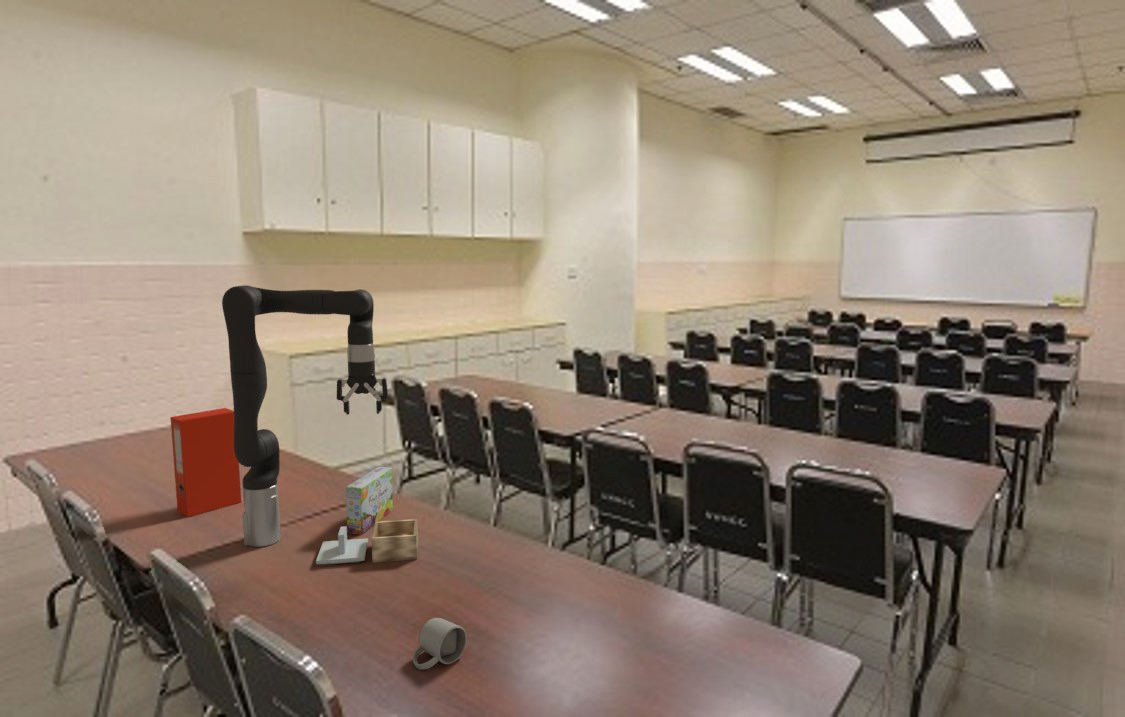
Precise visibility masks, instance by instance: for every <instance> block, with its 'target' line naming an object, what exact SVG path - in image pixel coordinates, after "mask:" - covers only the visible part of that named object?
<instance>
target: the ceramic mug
mask: <svg viewBox="0 0 1125 717" xmlns="http://www.w3.org/2000/svg"><path fill="white" fill-rule="evenodd" d="M467 638H468V637H467V632H466V630H465V629H464V628H463V627H462V626H460V625H458V624H455V623H453V622H451V621H450V620H449V621H448V620H447V619H444V618H440V617H432V618H430V619H428V620H427V621H426V622H425V623H424V624H423V625H422V627H421V629H420V631H419V635H418V643H419V646H418V647H417V648H416V649H415V650H414V652H413V653H412V656H411V657H412V658H411V659H412V662H413V665H414V666H415V668H416V669H418V670H420V671H424V670H428V669H430V668H432V667H434V666H435V665H436V664H437V663H438V662H440V663H442V664H444V665H451V664H454V663H455V662H457V661H458V660H459V659H460V658H461V657H462V655H463V654H464V652H465V650H466V647H467V641H468V639H467ZM423 651H424V652H425V653H427V654H428V655H429V656H432V658H430V659H429V660H428V661H426V662H424V663H419V661H418V658H419V656H420V655H421V653H422V652H423Z"/></svg>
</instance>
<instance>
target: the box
mask: <svg viewBox="0 0 1125 717" xmlns="http://www.w3.org/2000/svg"><path fill="white" fill-rule="evenodd" d="M418 522H419V520H418V519H417V518H416V519H415V518H414V519H413V518H412V519H399V520H396V519H395V520H383V521H382V520H379V521H378V522H375V524H374V525H373V526H374V527H373V531H372V536H371V554H372V564H373V563H374V564H375V563H385V562H399V561H412V560H413V561H414V560H415V561H416V560H418V549H419V548H418V547H419V533H418V530H419V529H418V528H419V527H418V526H419V525H418V524H419V523H418ZM403 534H408V535H403Z"/></svg>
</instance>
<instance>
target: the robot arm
mask: <svg viewBox="0 0 1125 717" xmlns="http://www.w3.org/2000/svg"><path fill="white" fill-rule="evenodd" d="M221 305H222V306H221V307H222V310H223V311H222V312H223V317H224V322H225V326H226V332H227V337H228V338H227V339H228V354H229V365H230V366H229V369H230V379H231V381H230V383H231V390H232V404H233V411H234V453H235V456H236V459H237V460H238V462H239V465H241V466H242V467H245V468H249V470H248V472H247V473H245V474H244V475H243V478H242V490H243V491H242V493H243V510H244V512H243V513H242V528H243V543H244V546H249V547H255V548H256V547H257V548H259V547H260V548H261V547H266V546H270V545H274V544H276V543H277V542H279V541H280V540H281V524H280V523H281V521H280V507H279V505H280V504H279V493H278V492H279V491H278V490H279V488H278V476H279V474H280V471H281V470H280V464H281V463H280V462H281V461H280V443H279V440H278V438H277V436H276V433H274V431H272V430H270V429H267V428H263V429H259V426H258V423H259V422H258V421H259V420H258V419H259V413H260V410H261V407H262V404H263V402H264V399H265V397H266V394H267V389H268V376H267V375H268V374H267V366H266V360H265V358H264V355H263V353H262V350H261V347H260V345H259V343H258V340H257V334H256V316H259V315H265V314H271V313H272V314H273V313H274V314H275V313H290V314H291V313H292V314H299V315H300V314H301V315H325V316H326V315H341V316H342V315H344V316H349V323H348V326H347V352H346V354H347V357H346V358H347V374H348V375H347V379H342V378H338V379H337V381H336V401H341V402H343V412H344V413H345V414H346V415H347V416H348V415H350V413H351V412H350V410H351V409H350V398H351V396H353V394H356V395H360V394H364V395H366V394H369V393H370V394H371V395H372V397H374V399H375V404H376V405H375V406H376V408H375V409H376V410H375V411H376V414H380V412H382V409H383V404H382V402H383V400H387V399H388V396H389V394H388V393H389V392H388V383H387V382H388V381H387V378H386V377H382V378H377V377H376V362H375V361H376V360H375V358H376V355H375V348H374V331H373V321H374V307H375V305H374V298H373V296H372V294H371V293H370V292H369V291H367V290H366V289H355V290H339V291H337V290H333V289H332V290H331V289H301V290H299V289H298V290H277V289H274V290H273V289H267V288H263V287H262V288H261V287H256V286H251V285H248V284H247V285H246V284H245V285H244V284H243V285H237V286H236V285H235V286H232V287H230V288H228V289H227V290H226V291H225V292H224V294H223V296H222V300H221ZM345 384H346V385H347V386H348V387H349V389H350V390H349V391H348V392H347V394H346V395H343V388H344V387H345ZM377 384H378V385H379V386H380V387H381V388H382V394H380V393H379V392H378V390H377V389H376V388H375V386H376V385H377Z"/></svg>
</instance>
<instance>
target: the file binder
mask: <svg viewBox="0 0 1125 717" xmlns="http://www.w3.org/2000/svg"><path fill="white" fill-rule="evenodd" d="M169 419H170V429H171V430H170V431H171V441H172V454H173V455H172V456H173V467H174V480H175V494H176V506H177V507H176V508H177V512H178V513H180V514H182V515H183V516H185V517H186V518H190V516H191V517H194V516H198V515H201V514H205V513H209V512H212V511H215V509H216V510H218V509H219V508H220V509H222V507H223V508H226V506H227V507H230V506H233V504H234V505H237V504H241V503H242V492H241V491H242V490H241V489H242V488H241V475H240V463H239V462H238V460H237V459H236V456H235V453H234V409H229V408H226V407H222V408H217V409H210V410H205V411H198V412H194V413H186V414H180V415H175V416H174V415H173V416H170V417H169ZM240 502H241V503H240ZM211 510H212V511H211Z"/></svg>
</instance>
